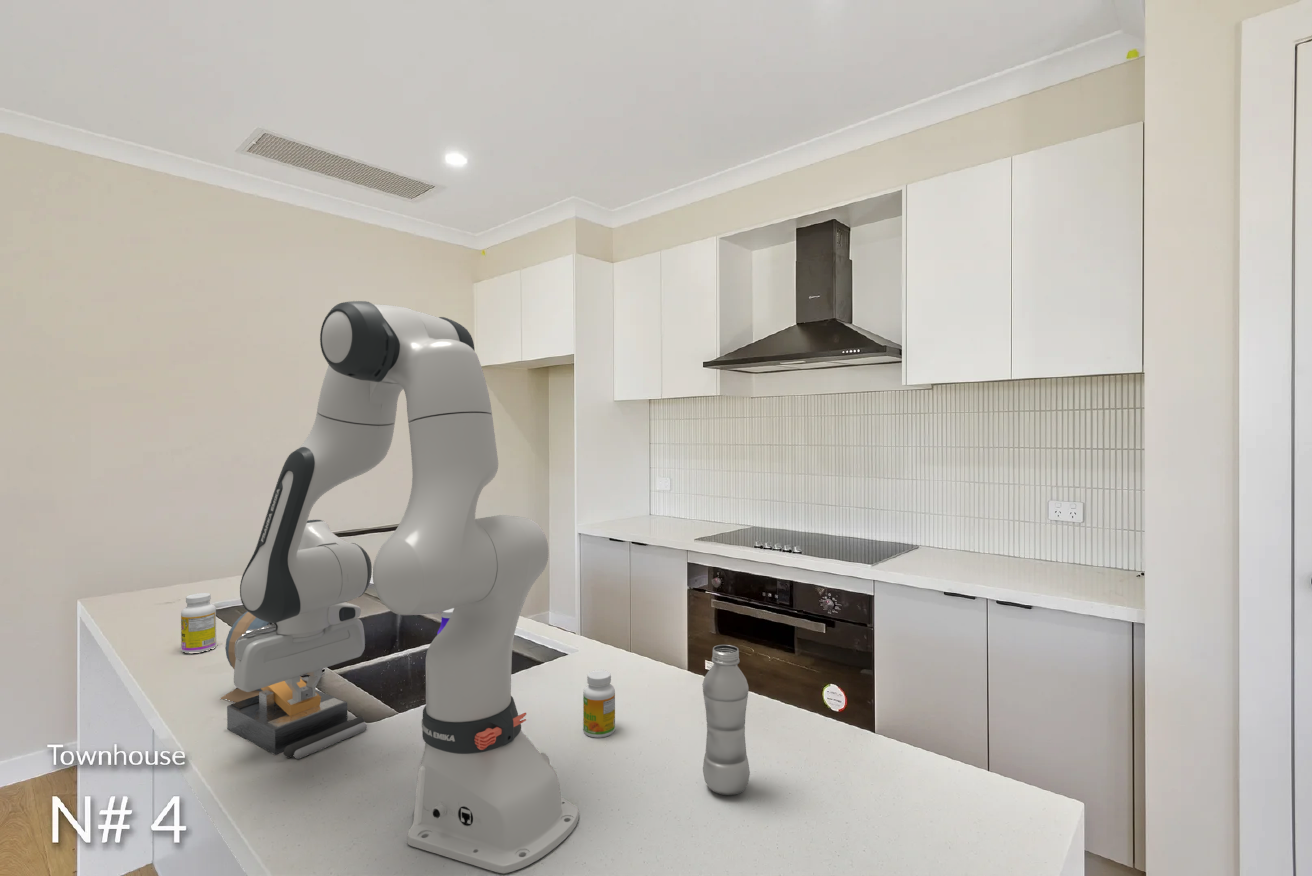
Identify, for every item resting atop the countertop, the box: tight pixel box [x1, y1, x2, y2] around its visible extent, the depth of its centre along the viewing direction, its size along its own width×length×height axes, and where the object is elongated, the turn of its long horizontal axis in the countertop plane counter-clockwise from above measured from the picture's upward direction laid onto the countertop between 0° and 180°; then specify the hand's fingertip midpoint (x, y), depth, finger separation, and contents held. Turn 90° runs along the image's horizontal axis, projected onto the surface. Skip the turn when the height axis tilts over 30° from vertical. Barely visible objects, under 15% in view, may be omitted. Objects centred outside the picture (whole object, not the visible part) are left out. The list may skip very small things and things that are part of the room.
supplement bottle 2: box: [582, 669, 616, 739], centre depth 108 cm, size 5×5×10 cm
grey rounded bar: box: [283, 715, 368, 760], centre depth 104 cm, size 13×3×2 cm, turn 147°
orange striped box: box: [261, 679, 321, 716], centre depth 110 cm, size 12×5×2 cm, turn 57°
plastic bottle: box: [702, 644, 751, 796], centre depth 91 cm, size 6×7×20 cm
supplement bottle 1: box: [180, 592, 217, 653], centre depth 148 cm, size 7×7×13 cm
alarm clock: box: [220, 610, 304, 703], centre depth 126 cm, size 14×10×18 cm
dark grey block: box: [226, 676, 349, 756], centre depth 110 cm, size 16×12×7 cm
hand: (304, 699), depth 107 cm, fingers closed, pressing on orange striped box
